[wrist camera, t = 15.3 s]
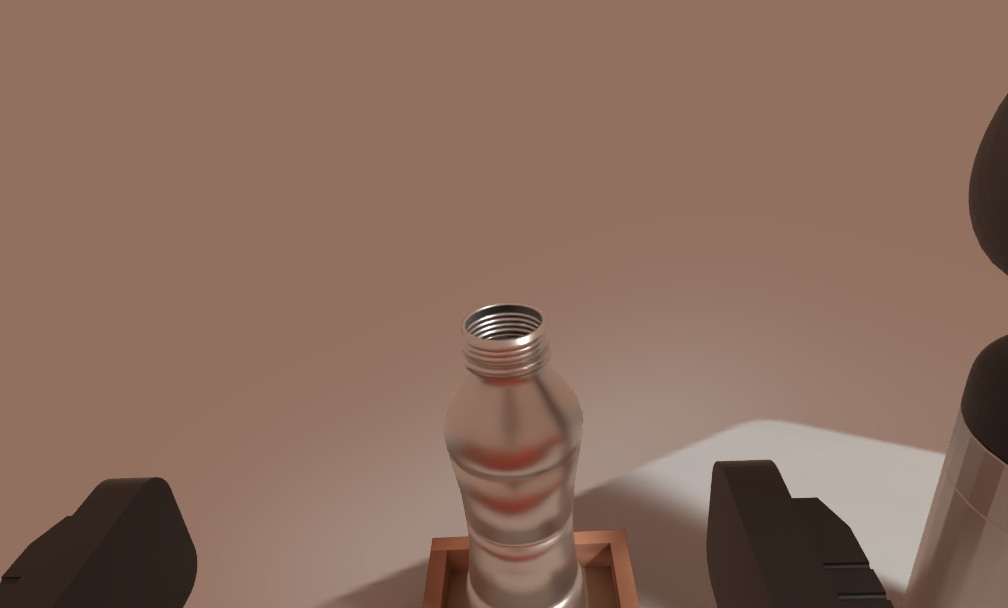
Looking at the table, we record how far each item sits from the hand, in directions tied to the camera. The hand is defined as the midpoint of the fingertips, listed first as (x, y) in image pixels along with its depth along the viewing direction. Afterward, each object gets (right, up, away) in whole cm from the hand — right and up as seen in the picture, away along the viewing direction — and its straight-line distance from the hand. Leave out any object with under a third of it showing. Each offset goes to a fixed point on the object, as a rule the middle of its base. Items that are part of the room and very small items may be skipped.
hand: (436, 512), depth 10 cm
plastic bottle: (+2, -16, +28) cm, 32 cm away
